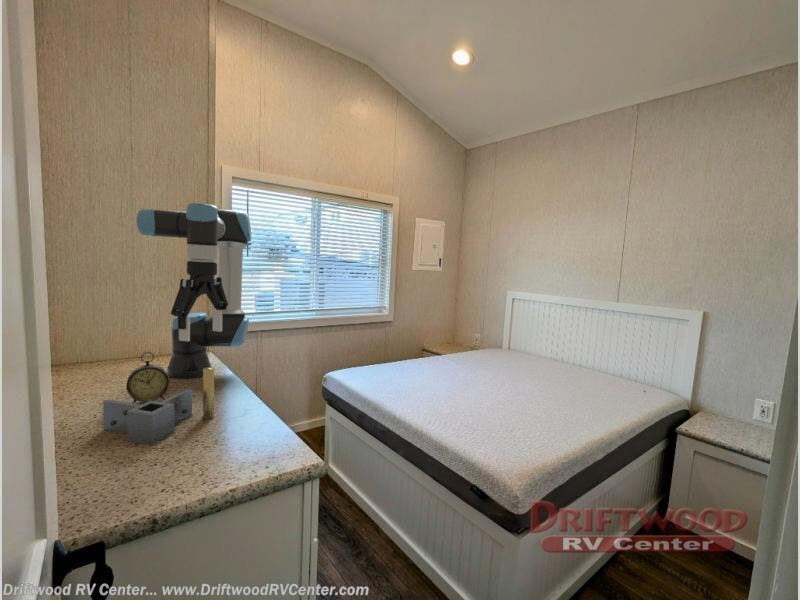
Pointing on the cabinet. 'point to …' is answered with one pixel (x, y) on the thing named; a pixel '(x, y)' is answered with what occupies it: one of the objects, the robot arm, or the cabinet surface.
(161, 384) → the alarm clock
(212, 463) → the cabinet surface
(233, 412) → the cabinet surface
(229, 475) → the cabinet surface
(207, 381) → the hinge pin
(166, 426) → the hinge leaves
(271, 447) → the cabinet surface
